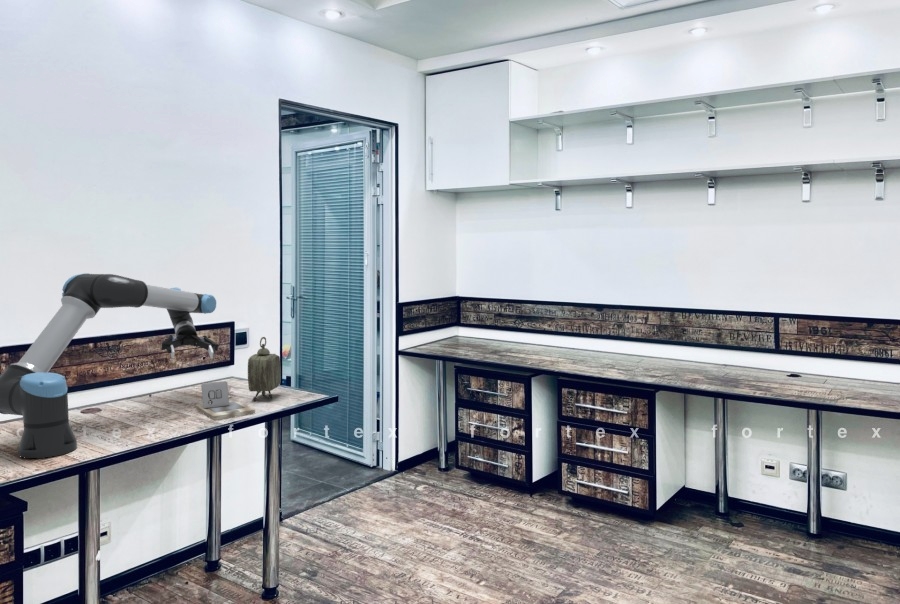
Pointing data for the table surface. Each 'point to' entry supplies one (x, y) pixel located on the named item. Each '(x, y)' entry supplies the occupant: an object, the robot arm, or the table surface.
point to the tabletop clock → (263, 371)
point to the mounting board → (226, 410)
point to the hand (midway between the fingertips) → (193, 355)
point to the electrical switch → (215, 394)
